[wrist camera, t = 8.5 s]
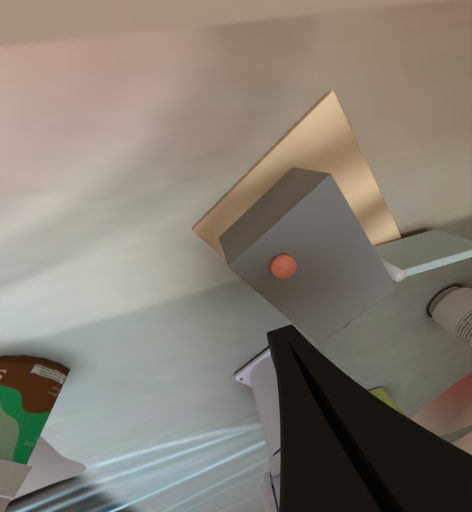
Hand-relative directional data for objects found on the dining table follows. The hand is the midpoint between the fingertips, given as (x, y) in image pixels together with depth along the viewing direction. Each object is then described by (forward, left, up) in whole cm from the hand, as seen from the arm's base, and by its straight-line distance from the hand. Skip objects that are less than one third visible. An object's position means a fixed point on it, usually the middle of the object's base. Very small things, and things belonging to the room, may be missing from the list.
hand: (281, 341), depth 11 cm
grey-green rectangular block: (-11, -12, -9) cm, 19 cm away
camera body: (-3, -4, -9) cm, 11 cm away
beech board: (-5, -6, -10) cm, 12 cm away
